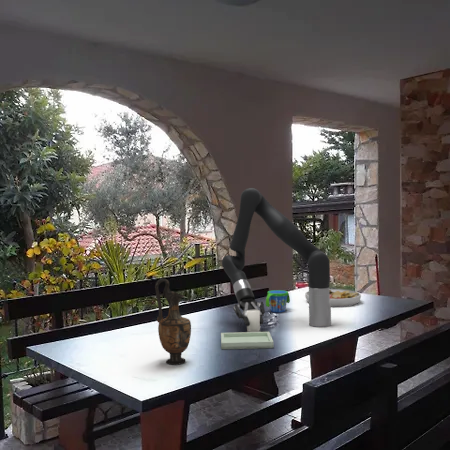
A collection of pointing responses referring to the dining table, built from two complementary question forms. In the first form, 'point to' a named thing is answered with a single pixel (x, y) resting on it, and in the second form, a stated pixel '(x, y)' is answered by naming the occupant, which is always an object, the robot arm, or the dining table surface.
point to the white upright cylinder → (253, 320)
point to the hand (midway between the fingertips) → (255, 324)
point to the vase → (172, 326)
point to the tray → (246, 340)
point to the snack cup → (277, 300)
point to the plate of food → (341, 297)
